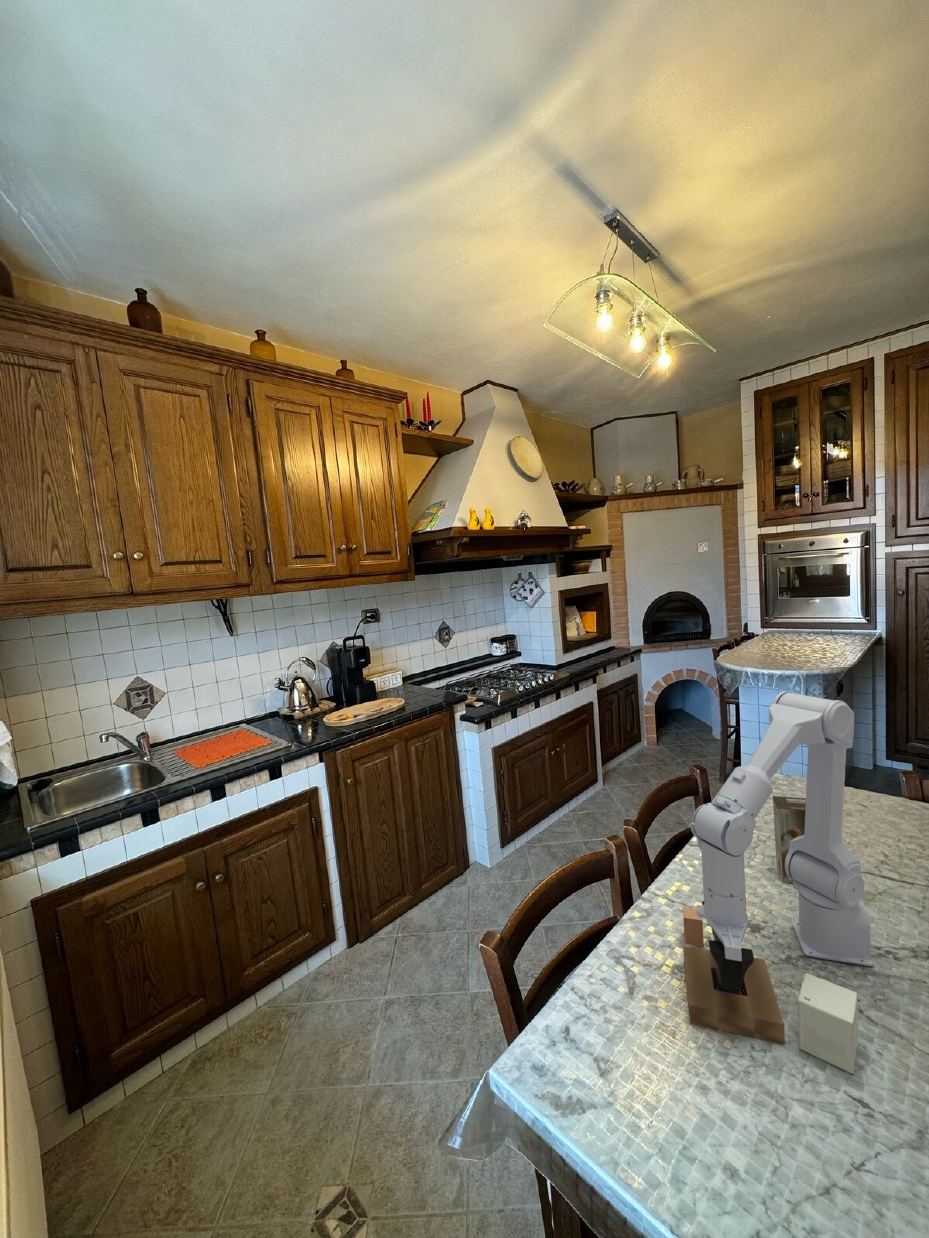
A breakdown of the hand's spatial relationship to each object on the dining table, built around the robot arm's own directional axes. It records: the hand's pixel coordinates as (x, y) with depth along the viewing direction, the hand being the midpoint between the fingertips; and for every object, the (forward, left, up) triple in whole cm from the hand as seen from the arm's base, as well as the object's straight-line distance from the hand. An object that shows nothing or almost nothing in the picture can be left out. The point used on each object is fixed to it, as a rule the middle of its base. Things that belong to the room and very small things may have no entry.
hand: (727, 969), depth 75 cm
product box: (-12, +5, -5) cm, 13 cm away
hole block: (0, 0, -5) cm, 5 cm away
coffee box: (-19, -36, -5) cm, 41 cm away
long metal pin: (0, 0, -5) cm, 5 cm away
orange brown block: (+4, -12, -5) cm, 14 cm away
